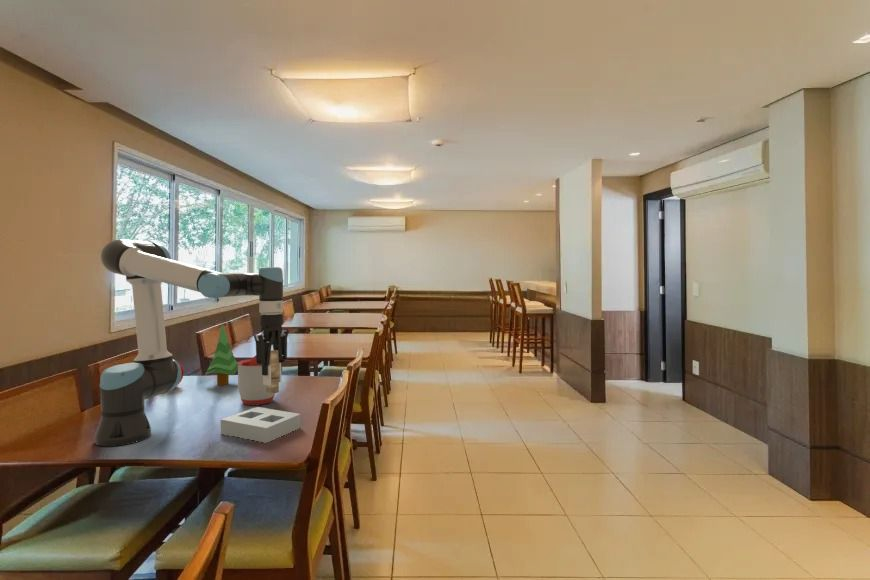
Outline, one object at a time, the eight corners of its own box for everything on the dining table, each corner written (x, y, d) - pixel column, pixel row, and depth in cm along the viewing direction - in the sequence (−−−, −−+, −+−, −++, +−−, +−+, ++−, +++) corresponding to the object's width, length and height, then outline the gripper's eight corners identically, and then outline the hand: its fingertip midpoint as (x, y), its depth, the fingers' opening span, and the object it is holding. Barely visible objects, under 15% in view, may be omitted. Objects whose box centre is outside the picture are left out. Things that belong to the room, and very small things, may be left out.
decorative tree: (200, 388, 213) (199, 323, 212) (217, 380, 229) (216, 320, 228) (228, 389, 212) (228, 324, 211) (244, 381, 228) (243, 320, 227)
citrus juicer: (258, 410, 180) (257, 359, 180) (229, 403, 189) (228, 355, 188) (288, 400, 194) (288, 353, 193) (260, 395, 202) (260, 349, 202)
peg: (272, 394, 151) (272, 351, 151) (263, 392, 153) (262, 351, 153) (281, 391, 155) (281, 349, 155) (272, 390, 157) (271, 349, 156)
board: (266, 443, 145) (266, 428, 145) (220, 434, 153) (220, 419, 153) (300, 428, 160) (300, 414, 160) (257, 420, 168) (257, 406, 168)
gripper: (260, 316, 144) (261, 390, 145) (297, 311, 159) (298, 378, 160) (242, 315, 147) (243, 387, 148) (281, 311, 163) (281, 376, 163)
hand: (272, 383), depth 154 cm, fingers closed on peg, 4 cm apart
